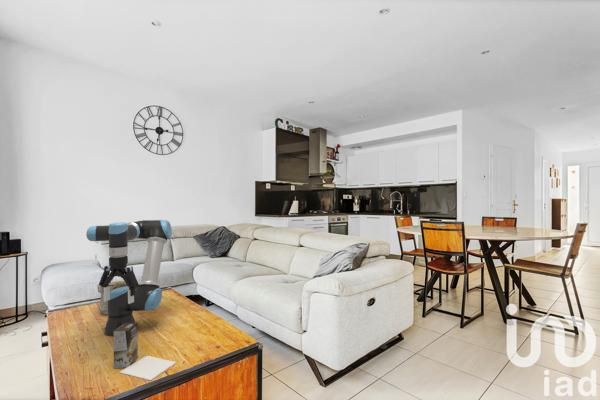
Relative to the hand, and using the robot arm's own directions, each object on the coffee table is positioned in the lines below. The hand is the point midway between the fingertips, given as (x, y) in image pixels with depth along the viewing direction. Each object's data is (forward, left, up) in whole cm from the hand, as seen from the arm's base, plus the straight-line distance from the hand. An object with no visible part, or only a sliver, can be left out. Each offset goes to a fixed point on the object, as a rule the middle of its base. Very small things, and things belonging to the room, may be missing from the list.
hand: (118, 301), depth 140 cm
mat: (+21, -3, -25) cm, 33 cm away
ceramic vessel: (-53, +43, -25) cm, 72 cm away
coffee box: (+8, -3, -25) cm, 27 cm away
